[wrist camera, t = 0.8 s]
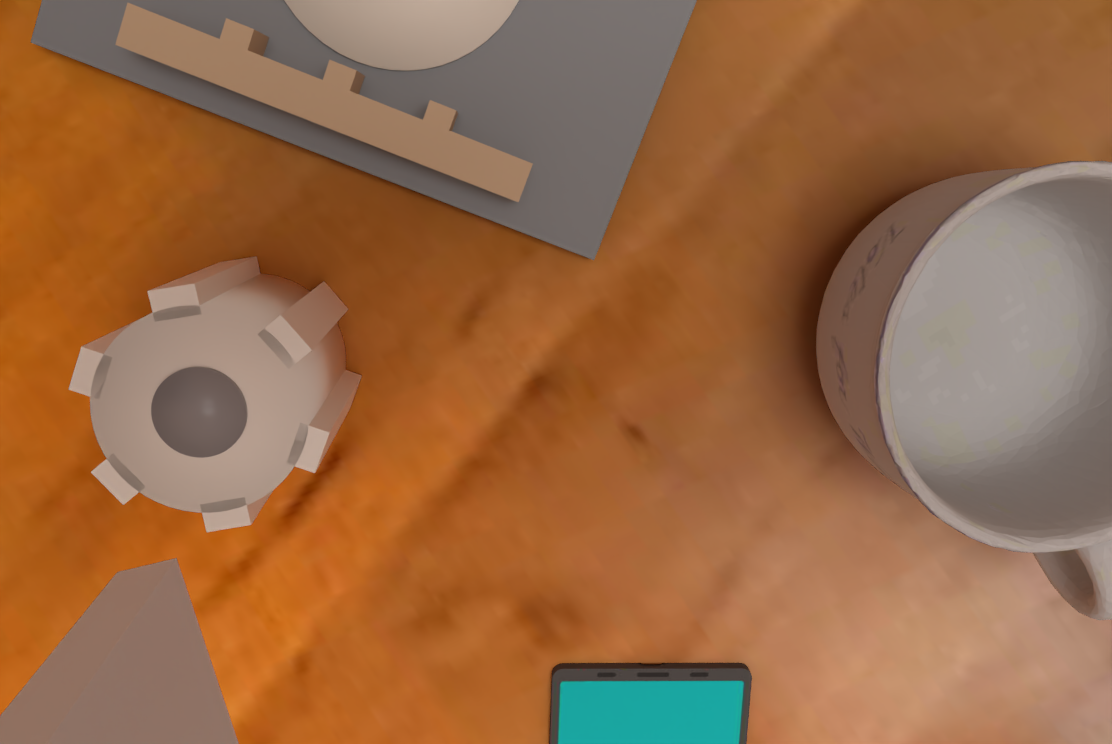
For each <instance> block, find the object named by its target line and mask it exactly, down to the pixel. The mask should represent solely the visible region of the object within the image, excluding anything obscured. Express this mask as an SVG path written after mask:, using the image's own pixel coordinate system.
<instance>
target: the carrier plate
mask: <svg viewBox="0 0 1112 744" xmlns="http://www.w3.org/2000/svg"><path fill="white" fill-rule="evenodd" d="M696 1H697V0H42V3H41V6H40V10H39V14H38V17H37V21H36V24H35V28H34V32H33V35H32V39H31V43H33V44H36V45H39V46H41V47H44V48H46V49H49V50H52V51H54V52H57V53H59V54H62V55H64V56H67V57H70V58H72V59H75V60H77V61H80V62H83V63H85V64H88V65H90V66H93V67H95V68H98V69H101V70H103V71H106V72H108V73H111V74H114V75H116V76H119V77H121V78H124V79H127V80H129V81H132V82H134V83H137V84H139V85H142V86H145V87H147V88H150V89H152V90H155V91H158V92H160V93H163V94H165V95H168V96H170V97H173V98H176V99H178V100H181V101H183V102H186V103H189V104H191V105H194V106H196V107H199V108H201V109H204V110H207V111H209V112H212V113H214V114H217V115H220V116H222V117H225V118H227V119H230V120H233V121H235V122H238V123H240V124H243V125H245V126H248V127H251V128H253V129H256V130H258V131H261V132H264V133H266V134H269V135H271V136H274V137H276V138H279V139H282V140H284V141H287V142H289V143H292V144H295V145H297V146H300V147H302V148H305V149H307V150H310V151H313V152H315V153H318V154H320V155H323V156H326V157H328V158H331V159H333V160H336V161H339V162H341V163H344V164H346V165H349V166H351V167H354V168H357V169H359V170H362V171H364V172H367V173H370V174H372V175H375V176H377V177H380V178H382V179H385V180H388V181H390V182H393V183H395V184H398V185H401V186H403V187H406V188H408V189H411V190H413V191H416V192H419V193H421V194H424V195H426V196H429V197H432V198H434V199H437V200H439V201H442V202H444V203H447V204H450V205H452V206H455V207H457V208H460V209H463V210H465V211H468V212H470V213H473V214H476V215H478V216H481V217H483V218H486V219H488V220H491V221H494V222H496V223H499V224H501V225H504V226H507V227H509V228H512V229H514V230H517V231H519V232H522V233H525V234H527V235H530V236H532V237H535V238H538V239H540V240H543V241H545V242H548V243H550V244H553V245H556V246H558V247H561V248H563V249H566V250H569V251H571V252H574V253H576V254H579V255H582V256H584V257H587V258H589V259H592V260H594V259H595V256H596V254H597V251H598V249H599V246H600V244H601V241H602V239H603V236H604V234H605V231H606V229H607V226H608V223H609V221H610V218H611V216H612V213H613V211H614V208H615V206H616V203H617V201H618V198H619V196H620V193H621V191H622V188H623V186H624V183H625V180H626V178H627V175H628V173H629V170H630V168H631V165H632V163H633V160H634V158H635V155H636V153H637V150H638V148H639V145H640V143H641V140H642V137H643V135H644V132H645V130H646V127H647V125H648V122H649V120H650V117H651V115H652V112H653V110H654V107H655V105H656V102H657V99H658V97H659V94H660V92H661V89H662V87H663V84H664V82H665V79H666V77H667V74H668V72H669V69H670V67H671V64H672V62H673V59H674V56H675V54H676V51H677V49H678V46H679V44H680V41H681V39H682V36H683V34H684V31H685V29H686V26H687V24H688V21H689V18H690V16H691V13H692V11H693V8H694V6H695V3H696Z"/></svg>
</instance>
